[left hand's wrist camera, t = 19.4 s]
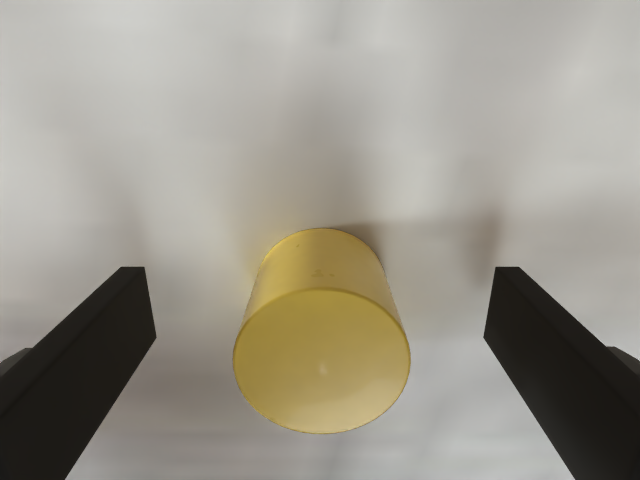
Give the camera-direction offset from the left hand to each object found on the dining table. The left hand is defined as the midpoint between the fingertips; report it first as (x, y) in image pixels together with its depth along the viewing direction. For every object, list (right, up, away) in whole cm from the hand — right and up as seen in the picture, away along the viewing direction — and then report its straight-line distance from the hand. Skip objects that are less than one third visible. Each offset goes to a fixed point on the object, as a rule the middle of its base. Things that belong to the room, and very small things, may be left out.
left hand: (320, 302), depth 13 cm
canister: (0, 0, +1) cm, 1 cm away
